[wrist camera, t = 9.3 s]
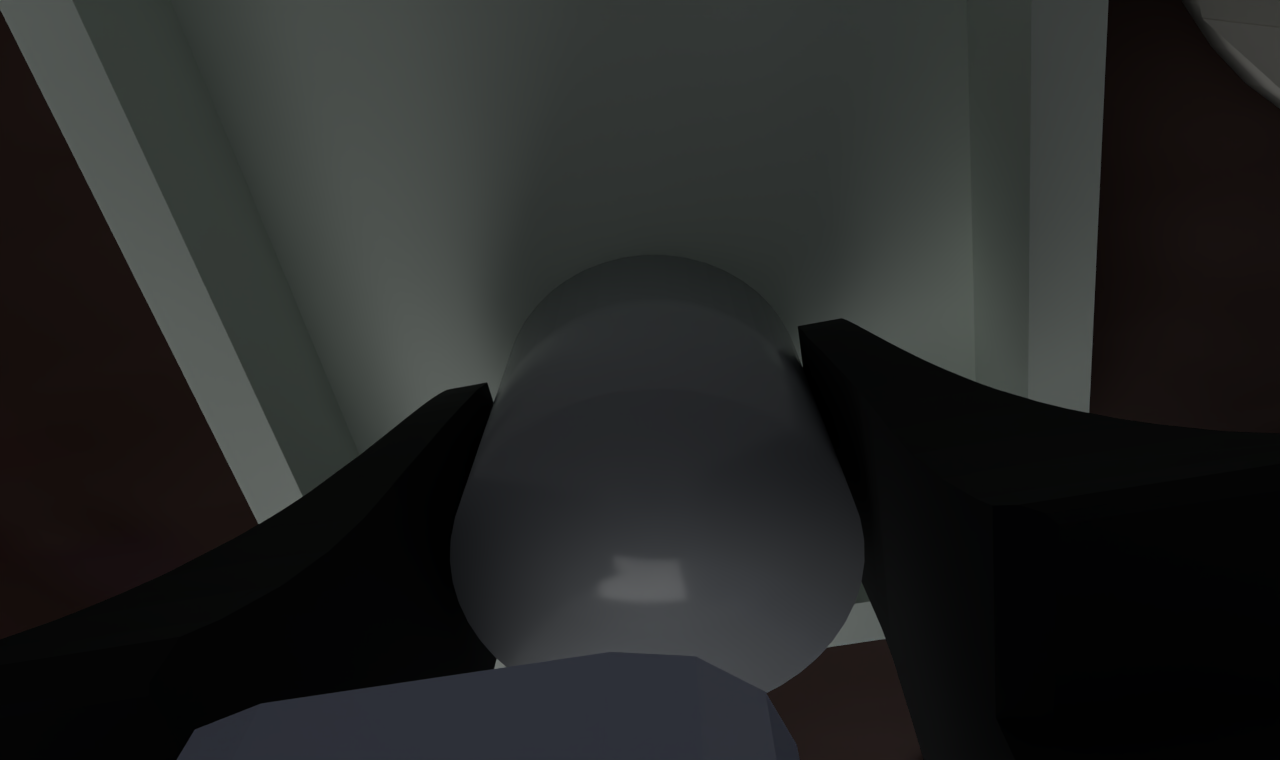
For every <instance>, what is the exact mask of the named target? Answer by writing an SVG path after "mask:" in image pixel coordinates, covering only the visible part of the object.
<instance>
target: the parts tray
mask: <svg viewBox="0 0 1280 760" xmlns="http://www.w3.org/2000/svg"><path fill="white" fill-rule="evenodd" d="M0 10H1V12H2V14H3V16H4V18H5V20H6V22H7V24H8V26H9V28H10V30H11V32H12V34H13V36H14V38H15V40H16V42H17V44H18V46H19V48H20V50H21V52H22V54H23V56H24V58H25V60H26V62H27V64H28V66H29V68H30V70H31V72H32V74H33V76H34V78H35V80H36V82H37V84H38V86H39V88H40V90H41V92H42V94H43V96H44V98H45V100H46V102H47V104H48V105H49V107H50V109H51V111H52V113H53V115H54V117H55V119H56V121H57V123H58V125H59V127H60V129H61V131H62V133H63V135H64V137H65V139H66V141H67V143H68V145H69V147H70V149H71V151H72V153H73V155H74V157H75V159H76V161H77V163H78V165H79V167H80V169H81V171H82V173H83V175H84V177H85V179H86V181H87V183H88V185H89V187H90V189H91V191H92V193H93V195H94V197H95V199H96V201H97V203H98V205H99V207H100V209H101V211H102V213H103V215H104V217H105V219H106V221H107V223H108V225H109V227H110V229H111V231H112V233H113V235H114V237H115V239H116V241H117V243H118V245H119V247H120V249H121V251H122V253H123V255H124V257H125V259H126V261H127V263H128V265H129V267H130V269H131V271H132V273H133V275H134V277H135V279H136V281H137V283H138V285H139V287H140V289H141V291H142V293H143V295H144V297H145V299H146V301H147V303H148V305H149V307H150V309H151V311H152V313H153V315H154V317H155V319H156V321H157V323H158V325H159V327H160V329H161V331H162V333H163V334H164V336H165V338H166V340H167V342H168V344H169V346H170V348H171V350H172V352H173V354H174V356H175V358H176V360H177V362H178V364H179V366H180V368H181V370H182V372H183V374H184V376H185V378H186V380H187V382H188V384H189V386H190V388H191V390H192V392H193V394H194V396H195V398H196V400H197V402H198V404H199V406H200V408H201V410H202V412H203V414H204V416H205V418H206V420H207V422H208V424H209V426H210V428H211V430H212V432H213V434H214V436H215V438H216V440H217V442H218V444H219V446H220V448H221V450H222V452H223V454H224V456H225V458H226V460H227V462H228V464H229V466H230V468H231V470H232V472H233V474H234V476H235V478H236V480H237V482H238V484H239V486H240V488H241V490H242V492H243V494H244V496H245V498H246V500H247V502H248V504H249V506H250V508H251V510H252V512H253V514H254V516H255V518H256V520H257V522H258V524H260V523H262V522H263V521H265V520H267V519H268V518H270V517H272V516H273V515H275V514H277V513H278V512H280V511H281V510H283V509H284V508H286V507H288V506H289V505H291V504H292V503H294V502H295V501H297V500H298V499H300V498H301V497H303V496H304V495H306V494H307V493H309V492H310V491H312V490H313V489H314V488H316V487H317V486H318V485H320V484H321V483H322V482H324V481H325V480H326V479H328V478H329V477H331V476H332V475H333V474H335V473H336V472H337V471H339V470H340V469H341V468H343V467H344V466H345V465H347V464H348V463H350V462H351V461H352V460H354V459H355V458H356V457H358V456H359V455H360V454H362V453H363V452H364V451H365V450H367V449H368V448H369V447H370V446H372V445H373V444H374V443H375V442H377V441H378V440H379V439H380V438H382V437H383V436H384V435H385V434H387V433H388V432H389V431H390V430H392V429H393V428H394V427H396V426H397V425H398V424H399V423H401V422H402V421H403V420H404V419H406V418H407V417H408V416H409V415H411V414H412V413H413V412H414V411H416V410H417V409H418V408H420V407H421V406H422V405H424V404H425V403H426V402H428V401H429V400H430V399H432V398H433V397H435V396H436V395H438V394H440V393H442V392H443V391H445V390H448V389H453V388H459V387H464V386H470V385H475V384H481V383H486V382H487V383H488V386H489V389H490V393H491V396H492V399H493V402H494V400H495V397H496V394H497V391H498V388H499V385H500V382H501V379H502V376H503V373H504V370H505V367H506V364H507V361H508V358H509V356H510V353H511V350H512V347H513V345H514V342H515V339H516V337H517V335H518V333H519V331H520V329H521V328H522V326H523V324H524V322H525V320H526V319H527V318H528V316H529V315H530V314H531V313H532V311H533V310H534V309H535V307H536V306H537V305H538V304H539V303H540V302H541V301H542V300H543V299H544V298H545V297H546V296H547V295H548V294H549V293H550V292H551V291H552V290H554V289H555V288H556V287H558V286H559V285H560V284H562V283H563V282H564V281H566V280H567V279H569V278H571V277H573V276H575V275H576V274H578V273H580V272H582V271H584V270H586V269H588V268H591V267H593V266H596V265H598V264H601V263H604V262H608V261H612V260H615V259H619V258H624V257H631V256H639V255H669V256H677V257H685V258H689V259H693V260H697V261H701V262H704V263H707V264H710V265H712V266H715V267H717V268H720V269H722V270H725V271H726V272H728V273H730V274H732V275H733V276H735V277H737V278H739V279H741V280H742V281H743V282H745V283H746V284H747V285H749V286H750V287H751V288H753V289H754V290H755V291H757V292H758V293H759V294H760V295H761V296H762V297H763V298H764V299H765V300H766V301H767V302H768V303H769V304H770V305H771V306H772V308H773V309H774V310H775V312H776V313H777V314H778V316H779V317H780V318H781V320H782V321H783V323H784V325H785V327H786V329H787V330H788V332H789V334H790V336H791V338H792V341H793V344H794V346H795V349H796V351H797V354H798V357H799V359H800V362H801V364H802V357H801V349H800V341H799V333H798V326H801V325H807V324H812V323H818V322H823V321H829V320H834V319H840V318H843V319H845V320H848V321H850V322H852V323H854V324H856V325H858V326H860V327H861V328H863V329H865V330H867V331H869V332H871V333H873V334H874V335H876V336H878V337H880V338H882V339H884V340H886V341H887V342H889V343H891V344H893V345H895V346H897V347H899V348H901V349H903V350H905V351H907V352H909V353H911V354H913V355H915V356H917V357H919V358H921V359H923V360H925V361H927V362H930V363H932V364H934V365H936V366H938V367H941V368H943V369H945V370H948V371H950V372H953V373H955V374H958V375H960V376H963V377H965V378H967V379H970V380H972V381H975V382H978V383H980V384H983V385H986V386H989V387H992V388H995V389H998V390H1001V391H1004V392H1008V393H1011V394H1014V395H1018V396H1021V397H1025V398H1028V399H1031V400H1035V401H1038V402H1042V403H1046V404H1050V405H1054V406H1058V407H1062V408H1067V409H1072V410H1077V411H1082V412H1087V413H1089V405H1090V384H1091V363H1092V341H1093V320H1094V299H1095V277H1096V256H1097V235H1098V213H1099V192H1100V171H1101V149H1102V128H1103V107H1104V85H1105V64H1106V43H1107V21H1108V0H0ZM802 367H803V365H802ZM880 639H886V638H885V636H884V633H883V631H882V628H881V626H880V623H879V621H878V619H877V616H876V614H875V612H874V610H873V607H872V605H871V603H870V600H869V598H868V596H867V593H866V591H865V589H864V587H863V584H862V582H861V585H860V588H859V592H858V595H857V598H856V601H855V604H854V606H853V608H852V610H851V612H850V614H849V616H848V618H847V620H846V622H845V624H844V625H843V627H842V628H841V629H840V631H839V632H838V634H837V635H836V637H835V638H834V640H833V641H832V642H831V643H830V644H829V645H828V647H832V646H839V645H846V644H853V643H860V642H867V641H873V640H880ZM504 667H506V666H505V665H504V664H502V663H501V662H500V661H499V660H498V659H496V664H495V668H494V669H498V668H504Z"/></svg>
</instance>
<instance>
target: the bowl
mask: <svg viewBox="0 0 1280 760" xmlns="http://www.w3.org/2000/svg"><path fill="white" fill-rule="evenodd" d="M1182 2H1183V4H1184V6H1185V7H1186V9H1187V10H1188V12H1189V13H1190V15H1191V16H1192V18H1193V19H1194V21H1195V22H1196V24H1197V26H1198V27H1199V29H1200V30H1201V32H1202V33H1203V35H1204V36H1205V38H1206V39H1207V41H1208V42H1209V44H1210V45H1211V47H1212V48H1213V49H1214V50H1215V51H1216V52H1217V53H1218V54H1219V56H1220V57H1221V58H1222V59H1223V60H1224V61H1225V62H1226V63H1227V64H1228V65H1229V66H1230V67H1231V68H1232V69H1233V71H1234V72H1235V73H1236V74H1237V75H1238V76H1239V77H1240V78H1241V79H1242V80H1243V81H1244V82H1245V83H1246V84H1247V85H1248V86H1250V87H1251V88H1252V89H1254V90H1255V91H1256V92H1258V93H1259V94H1261V95H1262V96H1263V97H1265V98H1266V99H1267V100H1269V101H1270V102H1271V103H1273V104H1274V105H1275V106H1277V107H1278V108H1279V109H1280V0H1182Z"/></svg>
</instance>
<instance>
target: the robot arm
mask: <svg viewBox="0 0 1280 760" xmlns="http://www.w3.org/2000/svg"><path fill="white" fill-rule="evenodd" d="M798 333H799V341H800V349H801V357H802V365H803V370H804V372H805V375H806V377H807V380H808V383H809V385H810V388H811V390H812V393H813V396H814V398H815V401H816V403H817V406H818V409H819V411H820V414H821V416H822V419H823V422H824V424H825V427H826V429H827V432H828V435H829V437H830V440H831V442H832V445H833V448H834V450H835V453H836V455H837V458H838V461H839V463H840V466H841V468H842V471H843V474H844V476H845V479H846V481H847V484H848V487H849V489H850V492H851V494H852V497H853V500H854V502H855V505H856V508H857V511H858V513H859V516H860V520H861V525H862V531H863V536H864V568H863V575H862V581H861V582H862V584H863V587H864V589H865V591H866V593H867V596H868V598H869V600H870V603H871V605H872V607H873V610H874V612H875V614H876V616H877V619H878V621H879V623H880V626H881V628H882V631H883V633H884V636H885V638H886V641H887V644H888V646H889V649H890V652H891V654H892V657H893V660H894V663H895V667H896V670H897V673H898V676H899V680H900V683H901V686H902V689H903V693H904V696H905V699H906V702H907V706H908V709H909V712H910V715H911V718H912V722H913V725H914V728H915V732H916V735H917V738H918V742H919V745H920V749H921V752H922V755H923V759H924V760H1280V434H1277V433H1252V432H1228V431H1215V430H1205V429H1196V428H1187V427H1177V426H1168V425H1159V424H1151V423H1144V422H1138V421H1131V420H1124V419H1118V418H1112V417H1107V416H1102V415H1097V414H1092V413H1087V412H1082V411H1077V410H1072V409H1067V408H1062V407H1058V406H1054V405H1050V404H1046V403H1042V402H1038V401H1035V400H1031V399H1028V398H1025V397H1021V396H1018V395H1014V394H1011V393H1008V392H1004V391H1001V390H998V389H995V388H992V387H989V386H986V385H983V384H980V383H978V382H975V381H972V380H970V379H967V378H965V377H963V376H960V375H958V374H955V373H953V372H950V371H948V370H945V369H943V368H941V367H938V366H936V365H934V364H932V363H930V362H927V361H925V360H923V359H921V358H919V357H917V356H915V355H913V354H911V353H909V352H907V351H905V350H903V349H901V348H899V347H897V346H895V345H893V344H891V343H889V342H887V341H886V340H884V339H882V338H880V337H878V336H876V335H874V334H873V333H871V332H869V331H867V330H865V329H863V328H861V327H860V326H858V325H856V324H854V323H852V322H850V321H848V320H845V319H843V318H840V319H834V320H829V321H823V322H818V323H812V324H807V325H801V326H798ZM493 403H494V402H493V399H492V396H491V393H490V389H489V386H488V383H487V382H486V383H481V384H475V385H470V386H464V387H459V388H453V389H448V390H445V391H443V392H442V393H440V394H438V395H436V396H435V397H433V398H432V399H430V400H429V401H428V402H426V403H425V404H424V405H422V406H421V407H420V408H418V409H417V410H416V411H414V412H413V413H412V414H411V415H409V416H408V417H407V418H406V419H404V420H403V421H402V422H401V423H399V424H398V425H397V426H396V427H394V428H393V429H392V430H390V431H389V432H388V433H387V434H385V435H384V436H383V437H382V438H380V439H379V440H378V441H377V442H375V443H374V444H373V445H372V446H370V447H369V448H368V449H367V450H365V451H364V452H363V453H362V454H360V455H359V456H358V457H356V458H355V459H354V460H352V461H351V462H350V463H348V464H347V465H345V466H344V467H343V468H341V469H340V470H339V471H337V472H336V473H335V474H333V475H332V476H331V477H329V478H328V479H326V480H325V481H324V482H322V483H321V484H320V485H318V486H317V487H316V488H314V489H313V490H312V491H310V492H309V493H307V494H306V495H304V496H303V497H301V498H300V499H298V500H297V501H295V502H294V503H292V504H291V505H289V506H288V507H286V508H284V509H283V510H281V511H280V512H278V513H277V514H275V515H273V516H272V517H270V518H268V519H267V520H265V521H263V522H262V523H260V524H258V525H257V526H255V527H253V528H252V529H250V530H248V531H247V532H245V533H243V534H241V535H240V536H238V537H236V538H234V539H232V540H230V541H229V542H227V543H225V544H223V545H221V546H219V547H217V548H215V549H213V550H211V551H209V552H207V553H205V554H203V555H201V556H199V557H197V558H196V559H194V560H192V561H190V562H188V563H186V564H184V565H182V566H180V567H178V568H176V569H174V570H172V571H170V572H168V573H166V574H164V575H162V576H160V577H158V578H155V579H153V580H151V581H149V582H146V583H144V584H142V585H140V586H137V587H135V588H133V589H131V590H129V591H126V592H124V593H122V594H119V595H117V596H115V597H112V598H110V599H107V600H105V601H102V602H100V603H98V604H95V605H93V606H90V607H88V608H85V609H83V610H81V611H78V612H76V613H73V614H70V615H68V616H65V617H63V618H60V619H57V620H55V621H52V622H49V623H47V624H44V625H41V626H38V627H35V628H32V629H29V630H27V631H24V632H21V633H18V634H15V635H12V636H9V637H6V638H4V639H1V640H0V760H800V759H799V754H798V749H797V745H796V743H795V741H794V739H793V738H792V736H791V734H790V733H789V731H788V729H787V728H786V726H785V724H784V723H783V721H782V719H781V717H780V716H779V714H778V712H777V711H776V709H775V707H774V706H773V704H772V702H771V701H770V699H769V697H768V695H767V694H766V692H765V691H763V690H761V689H759V688H757V687H755V686H753V685H751V684H749V683H747V682H745V681H743V680H741V679H739V678H737V677H735V676H733V675H731V674H729V673H727V672H725V671H723V670H721V669H719V668H717V667H715V666H714V665H712V664H710V663H708V662H706V661H704V660H702V659H700V658H698V657H696V656H683V655H663V654H643V653H623V652H606V653H599V654H592V655H585V656H579V657H572V658H565V659H558V660H552V661H545V662H538V663H531V664H525V665H518V666H511V667H504V668H498V669H494V668H495V664H496V659H497V658H496V657H494V655H493V654H492V653H491V652H490V651H489V650H488V649H487V647H486V646H485V645H484V644H483V643H482V642H481V641H480V639H479V638H478V636H477V635H476V633H475V632H474V630H473V629H472V627H471V626H470V624H469V623H468V621H467V619H466V617H465V615H464V613H463V610H462V608H461V606H460V604H459V602H458V598H457V595H456V592H455V588H454V585H453V581H452V573H451V566H450V542H451V535H452V530H453V525H454V520H455V516H456V513H457V510H458V507H459V504H460V501H461V498H462V495H463V492H464V489H465V486H466V483H467V480H468V477H469V474H470V471H471V468H472V465H473V462H474V459H475V457H476V454H477V451H478V448H479V445H480V442H481V439H482V436H483V433H484V430H485V427H486V424H487V421H488V418H489V415H490V412H491V409H492V406H493Z"/></svg>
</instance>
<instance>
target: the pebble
mask: <svg viewBox="0 0 1280 760" xmlns="http://www.w3.org/2000/svg"><path fill="white" fill-rule="evenodd" d="M450 566H451V573H452V581H453V585H454V588H455V592H456V595H457V598H458V602H459V604H460V606H461V608H462V610H463V613H464V615H465V617H466V619H467V621H468V623H469V624H470V626H471V627H472V629H473V630H474V632H475V633H476V635H477V636H478V638H479V639H480V641H481V642H482V643H483V644H484V645H485V646H486V647H487V649H488V650H489V651H490V652H491V653H492V654H493V655H494V657H496V658H497V659H498V660H499V661H500V662H501V663H502V664H504V665H505V666H506V667H511V666H518V665H525V664H531V663H538V662H545V661H552V660H558V659H565V658H572V657H579V656H585V655H592V654H599V653H606V652H623V653H643V654H663V655H683V656H696V657H698V658H700V659H702V660H704V661H706V662H708V663H710V664H712V665H714V666H715V667H717V668H719V669H721V670H723V671H725V672H727V673H729V674H731V675H733V676H735V677H737V678H739V679H741V680H743V681H745V682H747V683H749V684H751V685H753V686H755V687H757V688H759V689H761V690H763V691H765V692H766V693H767V692H769V691H771V690H773V689H775V688H777V687H779V686H781V685H782V684H784V683H785V682H787V681H788V680H790V679H791V678H793V677H794V676H796V675H797V674H799V673H800V672H801V671H802V670H804V669H805V668H806V667H807V666H808V665H809V664H811V663H812V662H813V661H814V660H815V659H816V658H818V657H819V655H820V654H821V653H822V652H823V651H824V650H825V649H826V648H827V647H828V645H829V644H830V643H831V642H832V641H833V640H834V638H835V637H836V635H837V634H838V632H839V631H840V629H841V628H842V627H843V625H844V624H845V622H846V620H847V618H848V616H849V614H850V612H851V610H852V608H853V606H854V604H855V601H856V598H857V595H858V592H859V588H860V585H861V581H862V575H863V568H864V536H863V531H862V525H861V520H860V516H859V513H858V511H857V508H856V505H855V502H854V500H853V497H852V494H851V492H850V489H849V487H848V484H847V481H846V479H845V476H844V474H843V471H842V468H841V466H840V463H839V461H838V458H837V455H836V453H835V450H834V448H833V445H832V442H831V440H830V437H829V435H828V432H827V429H826V427H825V424H824V422H823V419H822V416H821V414H820V411H819V409H818V406H817V403H816V401H815V398H814V396H813V393H812V390H811V388H810V385H809V383H808V380H807V377H806V375H805V372H804V370H803V367H802V364H801V362H800V359H799V357H798V354H797V351H796V349H795V346H794V344H793V341H792V338H791V336H790V334H789V332H788V330H787V329H786V327H785V325H784V323H783V321H782V320H781V318H780V317H779V316H778V314H777V313H776V312H775V310H774V309H773V308H772V306H771V305H770V304H769V303H768V302H767V301H766V300H765V299H764V298H763V297H762V296H761V295H760V294H759V293H758V292H757V291H755V290H754V289H753V288H751V287H750V286H749V285H747V284H746V283H745V282H743V281H742V280H741V279H739V278H737V277H735V276H733V275H732V274H730V273H728V272H726V271H725V270H722V269H720V268H717V267H715V266H712V265H710V264H707V263H704V262H701V261H697V260H693V259H689V258H685V257H677V256H669V255H639V256H631V257H624V258H619V259H615V260H612V261H608V262H604V263H601V264H598V265H596V266H593V267H591V268H588V269H586V270H584V271H582V272H580V273H578V274H576V275H575V276H573V277H571V278H569V279H567V280H566V281H564V282H563V283H562V284H560V285H559V286H558V287H556V288H555V289H554V290H552V291H551V292H550V293H549V294H548V295H547V296H546V297H545V298H544V299H543V300H542V301H541V302H540V303H539V304H538V305H537V306H536V307H535V309H534V310H533V311H532V313H531V314H530V315H529V316H528V318H527V319H526V320H525V322H524V324H523V326H522V328H521V329H520V331H519V333H518V335H517V337H516V339H515V342H514V345H513V347H512V350H511V353H510V356H509V358H508V361H507V364H506V367H505V370H504V373H503V376H502V379H501V382H500V385H499V388H498V391H497V394H496V397H495V400H494V403H493V406H492V409H491V412H490V415H489V418H488V421H487V424H486V427H485V430H484V433H483V436H482V439H481V442H480V445H479V448H478V451H477V454H476V457H475V459H474V462H473V465H472V468H471V471H470V474H469V477H468V480H467V483H466V486H465V489H464V492H463V495H462V498H461V501H460V504H459V507H458V510H457V513H456V516H455V520H454V525H453V530H452V535H451V542H450Z"/></svg>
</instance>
